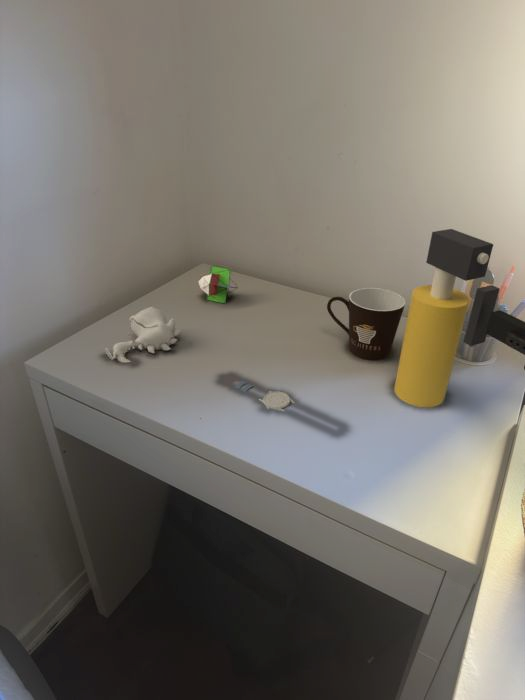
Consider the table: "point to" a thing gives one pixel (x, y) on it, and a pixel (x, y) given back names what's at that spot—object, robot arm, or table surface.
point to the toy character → (147, 334)
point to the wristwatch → (271, 398)
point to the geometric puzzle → (216, 284)
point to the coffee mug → (371, 321)
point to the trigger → (481, 314)
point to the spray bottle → (438, 318)
